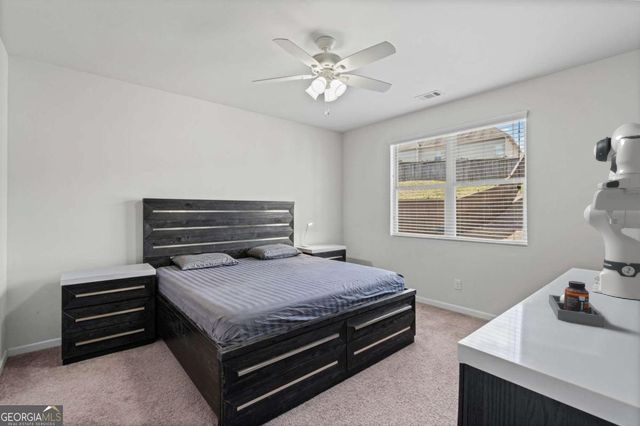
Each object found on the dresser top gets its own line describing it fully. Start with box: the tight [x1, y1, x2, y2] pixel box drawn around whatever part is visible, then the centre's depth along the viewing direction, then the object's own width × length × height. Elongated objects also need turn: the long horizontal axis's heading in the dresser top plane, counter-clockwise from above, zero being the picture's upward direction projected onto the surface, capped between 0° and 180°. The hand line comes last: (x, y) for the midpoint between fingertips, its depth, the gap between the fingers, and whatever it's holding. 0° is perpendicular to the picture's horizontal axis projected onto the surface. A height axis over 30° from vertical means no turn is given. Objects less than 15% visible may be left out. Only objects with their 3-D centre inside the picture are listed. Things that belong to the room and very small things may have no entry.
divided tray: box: [548, 294, 604, 328], centre depth 100 cm, size 20×11×4 cm, turn 149°
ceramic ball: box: [560, 293, 564, 303], centre depth 104 cm, size 6×6×6 cm
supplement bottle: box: [563, 280, 590, 314], centre depth 96 cm, size 6×6×11 cm
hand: (632, 224), depth 101 cm, fingers open, 8 cm apart
